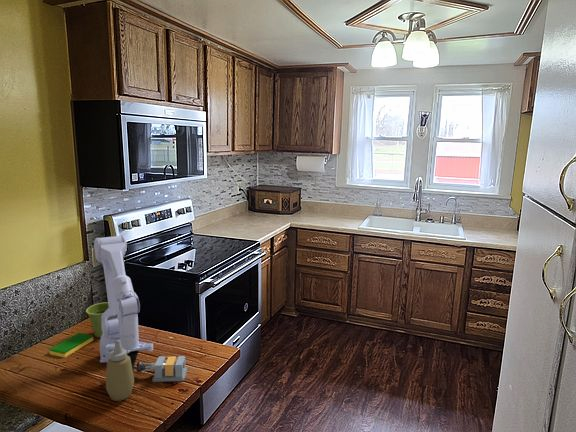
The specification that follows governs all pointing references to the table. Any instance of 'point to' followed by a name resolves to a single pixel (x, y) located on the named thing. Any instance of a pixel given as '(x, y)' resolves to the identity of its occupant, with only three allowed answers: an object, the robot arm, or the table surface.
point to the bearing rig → (178, 372)
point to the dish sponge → (71, 345)
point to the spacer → (170, 366)
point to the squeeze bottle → (119, 374)
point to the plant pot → (97, 317)
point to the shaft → (147, 366)
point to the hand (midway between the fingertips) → (130, 370)
